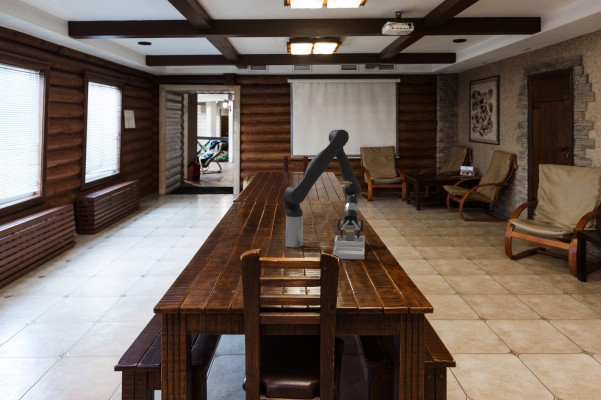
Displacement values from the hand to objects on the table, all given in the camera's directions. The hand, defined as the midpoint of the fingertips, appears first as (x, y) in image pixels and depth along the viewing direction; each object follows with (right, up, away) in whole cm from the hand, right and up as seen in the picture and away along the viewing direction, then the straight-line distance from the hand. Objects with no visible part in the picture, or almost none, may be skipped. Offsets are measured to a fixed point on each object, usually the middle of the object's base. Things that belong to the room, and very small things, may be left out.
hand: (349, 237), depth 269 cm
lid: (-2, -8, -13) cm, 15 cm away
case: (0, -6, +2) cm, 6 cm away
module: (0, -5, +2) cm, 5 cm away
